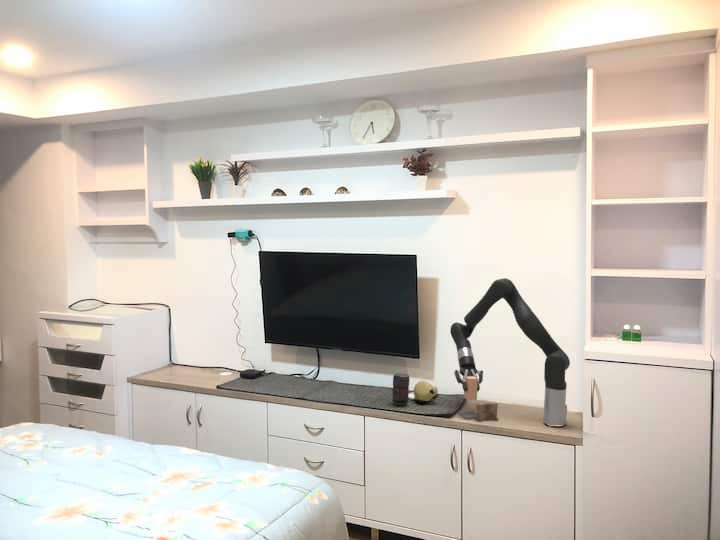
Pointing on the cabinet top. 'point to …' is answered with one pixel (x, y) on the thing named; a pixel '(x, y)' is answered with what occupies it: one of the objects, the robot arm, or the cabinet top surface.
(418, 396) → the yellow round lump
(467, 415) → the slate pad
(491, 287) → the robot arm
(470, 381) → the salmon pink rectangular block
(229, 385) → the cabinet top surface
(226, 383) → the cabinet top surface
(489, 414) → the walnut board
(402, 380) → the camera lens
